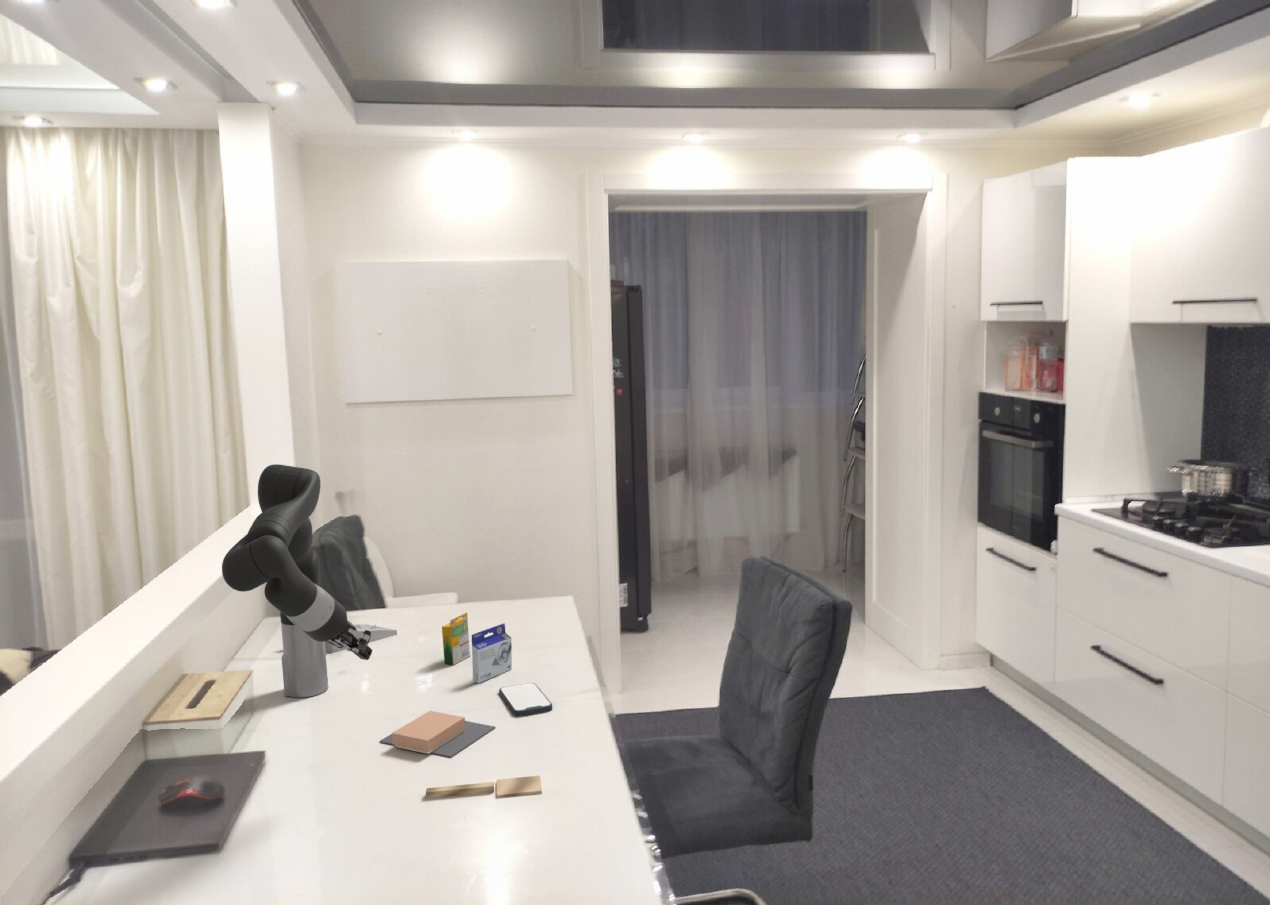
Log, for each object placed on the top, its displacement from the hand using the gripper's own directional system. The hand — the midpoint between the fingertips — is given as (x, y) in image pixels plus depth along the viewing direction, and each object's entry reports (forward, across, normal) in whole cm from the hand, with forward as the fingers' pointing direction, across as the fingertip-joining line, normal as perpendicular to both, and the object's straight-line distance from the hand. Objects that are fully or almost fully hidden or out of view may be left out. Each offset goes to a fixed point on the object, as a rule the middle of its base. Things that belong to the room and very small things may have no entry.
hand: (367, 655), depth 182 cm
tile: (+20, -2, +9) cm, 22 cm away
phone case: (+44, -9, -11) cm, 46 cm away
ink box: (+51, +7, -18) cm, 55 cm away
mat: (+28, -2, +4) cm, 28 cm away
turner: (+16, -26, +15) cm, 34 cm away
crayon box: (+55, +22, -22) cm, 63 cm away
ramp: (+56, +59, -21) cm, 84 cm away
